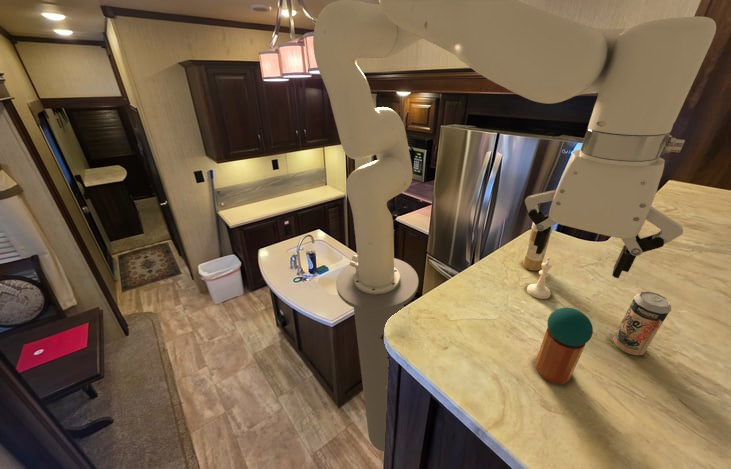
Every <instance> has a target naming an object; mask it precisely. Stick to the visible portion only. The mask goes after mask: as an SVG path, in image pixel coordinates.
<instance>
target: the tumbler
mask: <svg viewBox="0 0 731 469" xmlns="http://www.w3.org/2000/svg"><path fill="white" fill-rule="evenodd" d="M586 344H587V343H585V344H584V345H581V346H567V345H564V344H562V343H560V342H558V341H557V340H556V339H555V338H554V337H553V336H552V335H551V334H550V332H549V329H548V327H546V330H545V333H544V337H543V339H542V342H541V345H540V347H539V351H538V353H537V356H536V359H535V362H534V363H535V364H534V365H535V369H536V371H537V373H538V374H539V375H540V377H542V378H543V379H544V380H546V381H548V382H550V383H552V384H556V385H564V384H566V383H568V382H569V381H570V379H571V378H572V376H573V373H574V371H575V369H576V366H577V365H578V362H579V360H580V358H581V356H582V353H583V351H584V349H585V347H586Z"/></svg>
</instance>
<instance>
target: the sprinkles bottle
mask: <svg viewBox="0 0 731 469" xmlns="http://www.w3.org/2000/svg"><path fill="white" fill-rule="evenodd" d="M554 226H555V224H554V225H553V226H551V230H550V233H549V237H548V240H547V243H546V246H545V248H544V250H543V251H542V253H541V254H536V250H537V247H538V246H535V245H534V241H535V238H536V234H537V231H538V230H537V229H536V225H535V224H534V222H533V221H532V224H531V231H530V236H529V240H528V243H527V246H526V249H525V253H524V254H525V255H524V259H523V262H522V266H523V267H524V269H527V270H529V271H534V272H535V271H541V270H542V266H541V264H542V263H544V259H545V256H546V252H547V248H548V245H549V242H550V241H549V240H550V237H551V234H552V232H553V230H554Z"/></svg>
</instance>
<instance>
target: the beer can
mask: <svg viewBox="0 0 731 469" xmlns="http://www.w3.org/2000/svg"><path fill="white" fill-rule="evenodd" d="M671 311H672V305H671V302H670V300H669V299H668V298H667V297H665V296H663V295H661V294H659V293H657V292H652V291H650V290H649V291H647V290H646V291H641V292H639V293H637V294H636V295H634V296H633V299H632V301H631V303H630V306H629V307H628V309H627V311H626V312H625V315H624V317H623V319H622V320H621V323H620V324H619V326H618V329H617V330H616V332H615V334H614V336H612V341H613V343H614V345H615V346H616V348H618V349H619V350H621V351H622V352H625V353H627V354H630V355H633V356H642V355H644V354H645V353H646V350H647V349H648V347H649V346H650V344H651V343H652V341H653V339H654V337H655V336H656V335H657V333H658V331H659V330H660V328H661V326H662V325H663V323H664V321H665V320H666V318H667V316H668V315H669V313H671Z"/></svg>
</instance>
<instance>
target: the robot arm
mask: <svg viewBox="0 0 731 469" xmlns="http://www.w3.org/2000/svg"><path fill="white" fill-rule="evenodd" d="M378 2H379V4H378V3H373V2H367V1H363V0H362V1H361V0H336V1H332V2H329V3H328V4H327V5H326V6H324V7H323V8H322V9H321V10H320V12H319V14H318V16H317V19H316V21H315V24H314V29H313V36H312V45H313V54H314V59H315V63H316V68H317V69H318V72H319V75H320V77H321V79H322V82H323V84H324V86H325V90H326V92H327V95H328V99H329V101H330V107H331V110H332V114H333V119H334V122H335V126H336V129H337V133H338V137H339V141H340V144H341V147H342V149H343V152H344V154H345V155H346V156H347V157H348V158H349V159H352V160H364V159H367V158H369V157H374V156H376V160H374V161H371V162H369V163H365V164H363V165H361V166H359V167H357V168H356V169H354V170H353V171H352V172H351V173H350V174H349V175H348V177H347V179H346V182H345V192H346V195H347V198H348V202H349V205H350V209H351V213H352V219H353V229H354V235H355V237H354V238H355V245H356V246H355V247H356V254H353V255H352V257H351V260H350V262H349V264H350V265H351V266H353V267H355V268H356V273H355V274H354V284H355V286H356V287H357V288H358V289H359V290H361V291H363V292H365V293H368V294H384V293H387V292H390V291H392V290H394V289H395V288H396V287H397V286H398V285H399V283H400V273H399V271H398V270H397V269H396V268H395V267H394V258H395V241H394V240H395V238H394V237H395V236H394V233H395V232H394V219H393V215H392V213H391V212H390V210H389V208H388V205H387V204H388V202H389V201H390V200H392V199H393V198H396V197H397V196H398V195H400V194H402V193H403V192H405V191H407V190H408V189H409V188H410V186H411V184H412V181H413V177H414V176H413V171H414V170H413V164H412V159H411V154H410V146H409V143H408V137H407V132H406V128H405V124H404V122H403V120H402V118H401V117H400V115H399V114H398V112H396V111H395V110H393V109H392V108H389V107H384V106H382V107H375V105H374V101H373V97H372V91H371V87H370V85H369V84H370V83H369V81H368V80H367V77H366V76H365V74H364V73H363V71H362V70H361V68H360V67H359V66H358V64H357V60H358V59H384V58H389V57H392V56H394V55H397V54H398V53H400V52H402V51H403V50H405V49H407V48H408V47H410V46H412V45H414V44H415V43H418V42H419V41H421V40H422V39H423V40H425V41H427V42H429V43H431V44H433V45H435V46H437V47H438V48H441V49H443V50H445V51H446V52H449V53H451V54H452V55H454V56H456V58H457V59H458V60H459V61H460V62H462V63H464V64H465V65H466V66H467V67H469V68H470V69H472V70H473V71H474V72H475V73H477V74H479V75H480V76H482V77H484V78H486V79H487V80H489V81H491V82H492V83H495V84H496V85H499V86H500V87H502V88H505V89H507V90H508V91H510V92H511V93H515V94H517V95H518V96H521V97H522V98H525V99H527V100H529V101H532V102H534V103H535V102H536V103H541V104H548V105H549V104H559V103H563V102H564V101H567V100H570V99H572V98H574V97H577V96H581V95H587V94H597V97H596V100H595V103H594V105H593V110H592V112H591V116H590V119H589V121H588V122H589V123H588V125H587V128H586V132H585V135H584V138H583V141H582V144H581V147H580V149H576V150H574V151H573V153H572V154H571V156H570V158H569V160H568V162H567V164H566V165H565V169H564V170H563V172H562V175H561V177H560V180H559V182H558V185H557V187H556V189H552V190H548V191H544V192H539V193H535V194H530V195H527V197H526V198H525V199H524V204H525V207H526V210H527V212H528V217H529V219H530V220H531V221H532V223H533V222H534V224H535V225H536V229H537V230H538V231H537V234H536V238H535V241H534V245H535V246H538V247H537V250H536V254H541V253H542V251H543V250H544V248H545V246H546V243H547V240H548V237H549V233H550V230H551V226H553V225H554V226H555V225H556V224H558V225H560V226H565V227H569V228H573V229H577V230H582V231H586V232H589V233H594V234H598V235H602V236H606V237H610V238H615V239H621V241H622V243H623V244H624V245H623V246H622V249H621V251H620V253H619V255H618V257H617V259H616V261H615V263H614V266H613V270H612V274H611V275H612V276H613V278H616V279H619V278H620V277H621V274H622V272H625V273H629V271H630V269H631V267H632V265H633V264H634V262H635V260H636V258H637V257H638V256H641V255H642V254H644V253H646V252H650V251H653V250H657V249H660V248H663V247H664V246H665V245H666V244H667V243H670V242H672V241H674V240H675V239H677V238H679V237H680V236H682V235H683V234H684V228H683V226H682V224H680V223H678V222H676V221H675V220H674V219H672V218H670V217H668V216H667V215H665V214H664V213H662V212H661V211H659V210H658V209H657V208H654V207H653V206H652V205H653V203H654V200H655V198H656V195H657V193H658V189H659V185H660V182H661V179H662V177H663V172H664V168H665V161H666V160H665V159H664V158H662V157H661V155H665V154H666V153H667V154H668V153H669V154H670V153H680V152H681V150H682V149H683V147H684V145H685V142H686V139H679V138H678V139H677V138H676V137H673V135H671V132H672V129H673V127H674V124H675V123H676V120H677V118H678V116H679V115H680V112H681V110H682V108H683V106H684V103H685V101H686V99H687V97H688V94H689V93H690V90H691V88H692V86H693V84H694V81H695V79H696V77H697V75H698V73H699V70H700V69H701V67H702V64H703V62H704V60H705V57H706V56H707V54H708V51H709V50H710V47H711V44H712V42H713V41H714V38H715V35H716V32H717V23H716V21H715V20H714V19H713V18H712V17H707V16H696V15H695V16H680V17H670V18H660V19H653V20H647V21H642V22H638V23H637V22H636V23H634V24H632V25H630V26H627V27H626V28H598V27H593V26H591V25H586V24H582V23H579V22H576V21H573V20H571V19H568V18H565V17H562V16H560V15H557V14H555V13H551V12H549V11H546V10H544V9H541V8H538V7H536V6H533V5H531V4H529V3H526V2H524V1H521V0H378ZM549 202H551V205H550V207H549V211H548V214H546V215H544V213H543V212H542V210H541V209H540V208H539V204H545V203H549ZM646 221H647V222H649V223H650V224H652V225H653V226H655V227H657V228H658V229H659V230H660V231H658V232H657V233H654V234H652V235H648V236H644V237H641V236H640V234H639V233H640V232H641V230H642V229H643V226H644V224H645V222H646ZM554 226H553V227H554ZM549 238H550V237H549ZM354 261H355V262H354ZM356 262H357V263H356Z"/></svg>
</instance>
